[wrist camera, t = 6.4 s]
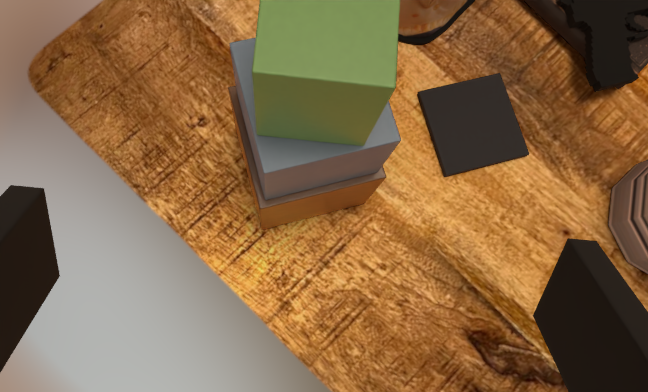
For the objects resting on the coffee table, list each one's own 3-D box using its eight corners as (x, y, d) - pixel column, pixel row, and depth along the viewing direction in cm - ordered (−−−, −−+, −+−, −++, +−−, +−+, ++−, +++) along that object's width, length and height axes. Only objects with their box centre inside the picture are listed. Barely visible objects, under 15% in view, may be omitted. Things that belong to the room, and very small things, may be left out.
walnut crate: (236, 129, 46) (227, 86, 38) (335, 107, 48) (350, 60, 39) (261, 230, 45) (259, 209, 36) (364, 203, 46) (386, 177, 37)
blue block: (236, 91, 38) (229, 42, 31) (345, 67, 39) (361, 15, 32) (265, 200, 36) (263, 173, 29) (377, 172, 37) (401, 140, 30)
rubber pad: (416, 94, 49) (418, 91, 48) (497, 75, 50) (500, 72, 49) (444, 177, 47) (446, 175, 47) (526, 156, 48) (529, 154, 48)
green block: (363, 146, 30) (396, 88, 22) (256, 135, 30) (251, 72, 22) (369, 49, 32) (402, -38, 24) (267, 37, 31) (266, -56, 23)
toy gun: (597, 88, 47) (556, -13, 48) (590, 92, 48) (551, -7, 49) (725, 56, 48) (681, -40, 50) (716, 61, 49) (673, -34, 51)
